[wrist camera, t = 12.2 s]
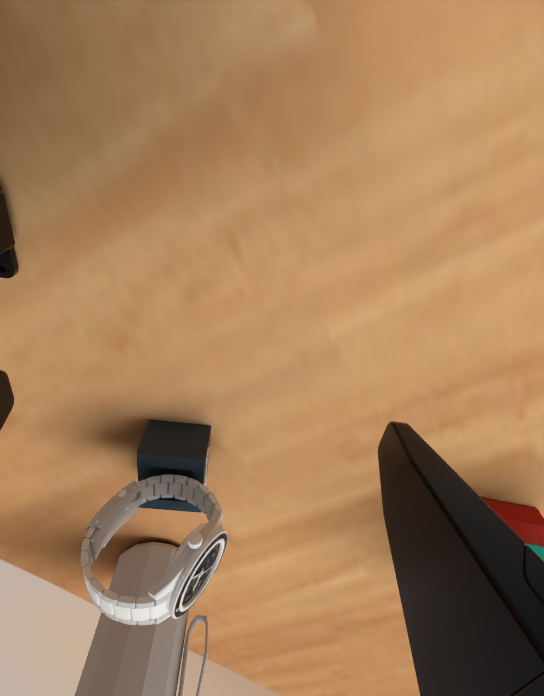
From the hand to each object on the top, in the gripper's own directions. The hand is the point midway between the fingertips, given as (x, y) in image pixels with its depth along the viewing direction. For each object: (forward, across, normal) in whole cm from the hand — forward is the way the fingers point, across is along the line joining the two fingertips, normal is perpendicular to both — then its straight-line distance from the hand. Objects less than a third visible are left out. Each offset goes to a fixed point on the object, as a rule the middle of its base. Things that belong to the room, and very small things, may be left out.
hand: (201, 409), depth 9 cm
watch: (+13, +3, +16) cm, 21 cm away
